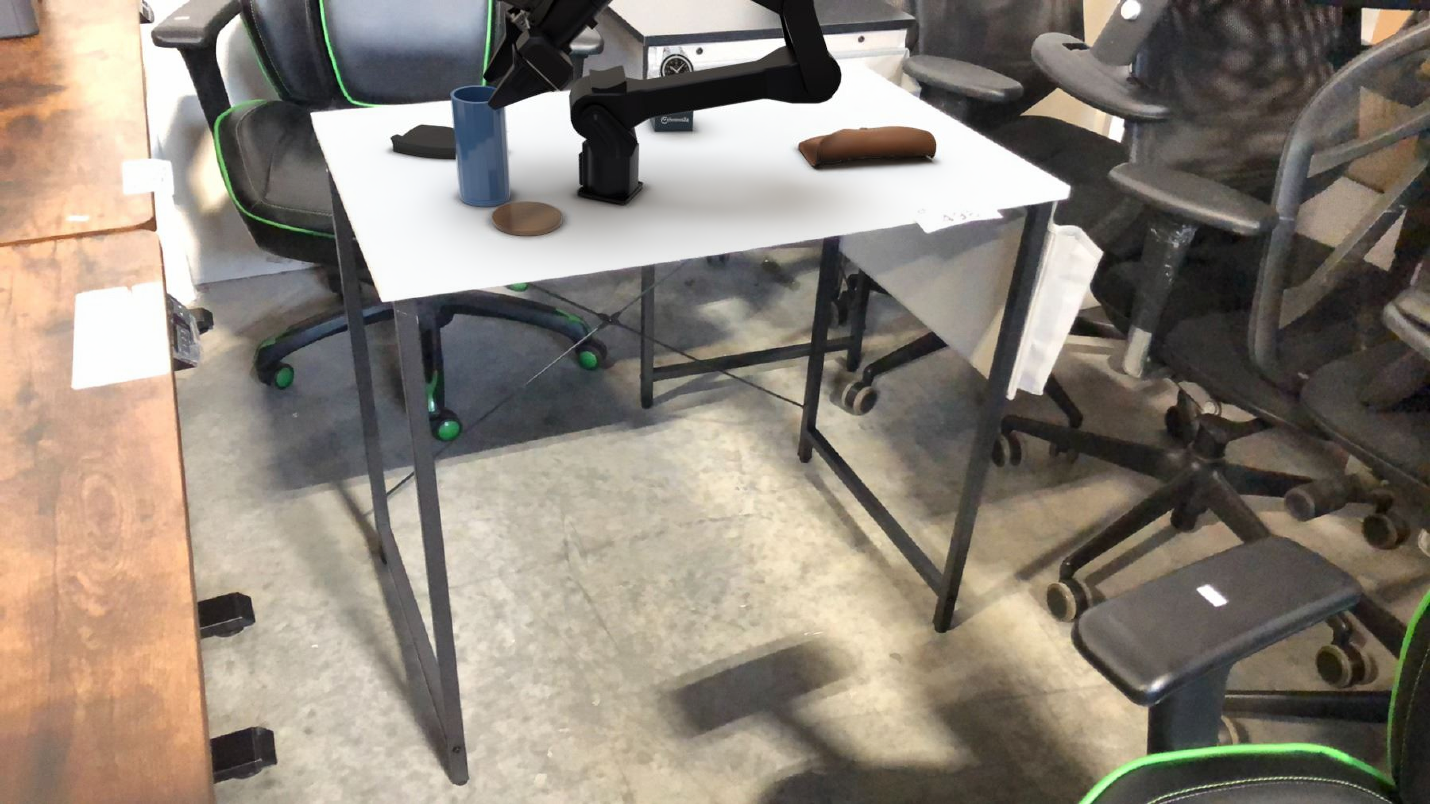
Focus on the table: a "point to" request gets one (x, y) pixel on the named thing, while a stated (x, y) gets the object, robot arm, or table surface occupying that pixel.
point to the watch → (670, 65)
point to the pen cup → (480, 147)
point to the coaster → (526, 218)
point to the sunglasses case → (868, 144)
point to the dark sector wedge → (426, 142)
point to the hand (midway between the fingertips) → (488, 93)
